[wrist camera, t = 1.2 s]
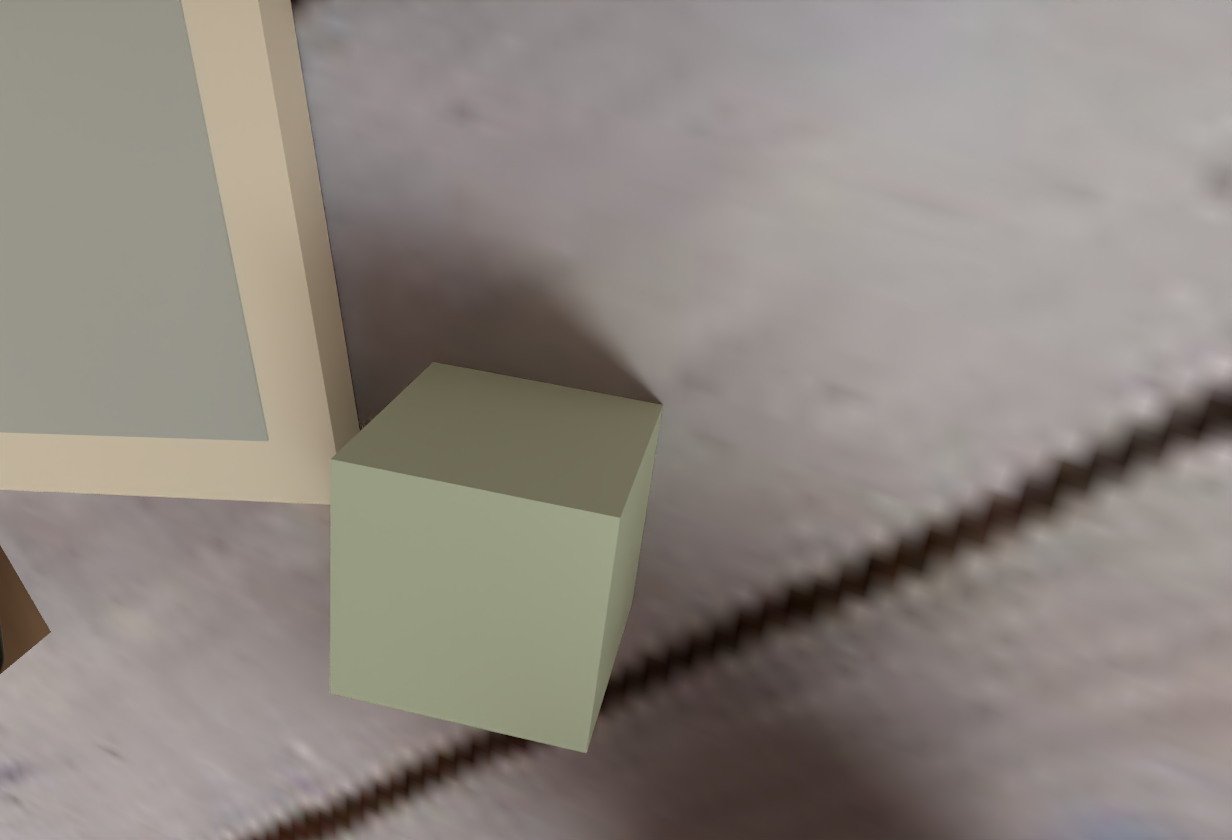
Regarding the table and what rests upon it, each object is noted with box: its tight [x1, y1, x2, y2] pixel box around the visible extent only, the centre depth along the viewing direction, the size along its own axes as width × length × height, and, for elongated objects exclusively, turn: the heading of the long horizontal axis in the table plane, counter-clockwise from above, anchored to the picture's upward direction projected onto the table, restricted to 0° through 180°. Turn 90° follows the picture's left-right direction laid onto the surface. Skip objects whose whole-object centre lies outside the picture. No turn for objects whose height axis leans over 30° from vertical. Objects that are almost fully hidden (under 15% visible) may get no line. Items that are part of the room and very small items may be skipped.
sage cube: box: [330, 362, 663, 753], centre depth 20 cm, size 5×5×5 cm
